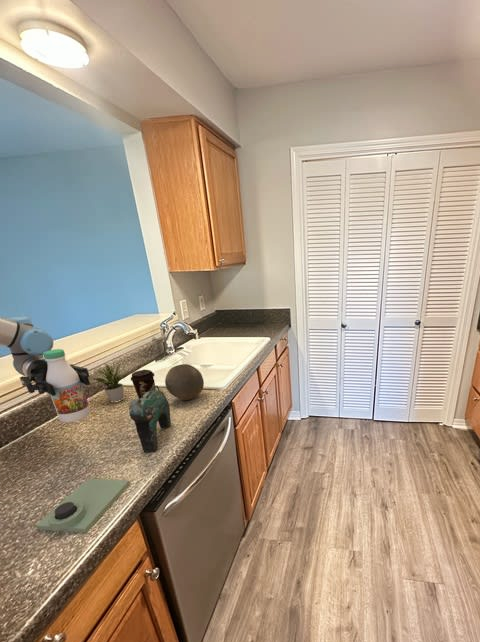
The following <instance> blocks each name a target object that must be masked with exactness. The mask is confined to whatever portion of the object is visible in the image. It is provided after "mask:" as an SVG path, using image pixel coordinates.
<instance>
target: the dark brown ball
mask: <svg viewBox="0 0 480 642" xmlns="http://www.w3.org/2000/svg"><path fill="white" fill-rule="evenodd" d="M166 373H167V374H166V375H165V380H164V382H165V383H164V384H165V388H166V389H167V391H168V393H169V394H170V395H171V396H173V397H174V398H176V399H178V400H181V401H190V400H193V399H196V398H197V397H199V395H200V394H202V392H203V390H204V386H205V385H204V384H205V382H204V378H203V374H202V373H201V372H200V371H199V370H198V369H197V367H196V366H193V365H192V364H188V363H182V364H177V365H175V366H173V367H171V368H170V369H169V370H168V372H166Z"/></svg>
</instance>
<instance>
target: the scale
mask: <svg viewBox="0 0 480 642" xmlns="http://www.w3.org/2000/svg"><path fill="white" fill-rule="evenodd" d="M130 485H131V481H130V480H129V479H109V478H86V479H85V480H84V481H83V482H82V483H81V484H79V485H78V486H77V487H76V488H75V489H74V490H73V491H72V492H71V493H69V494H68V495H67V497H65V498H64V499H63V500H62V501H61V502H60V503H59V504H57V506H55V507H54V508H53V509H52V510H51V511H50V512H49V513H48V514H47V515H46V516H44V518H42V519H41V520H40V521H39V522H37V524H35V527H36V529H37V530H38V531H51V532H52V531H54V532H67V533H68V532H69V533H83V534H84V533H85V534H87V533H88V532H89V530H90V529H92V528H93V526H94V525H95V524H96V523H97V522H98V521H99V520H100V518H101V517H102V516H104V514H105V513H106V512H107V511H108V509H109V508H110V507H111V506H112V505H113V504H114V503H115V502H116V500H117V499H118V498H119V497H121V495H122V494H123V493H124V491H125V490H126V489H127V488H128V487H129V486H130ZM67 502H72V503H74V506H75V508H76V512H75V513H74V514H73V515H71V516H70V517H68V518H65V519H62V520H59V519H57V517H56V514H55V509H56V508H57V507H58V506H60V505H61V504H63V503H67Z"/></svg>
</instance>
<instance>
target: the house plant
mask: <svg viewBox="0 0 480 642" xmlns="http://www.w3.org/2000/svg"><path fill="white" fill-rule="evenodd" d="M125 362H126V360H124V361H122V362H120V363H116V364H115V365H114V366H112V365H110V366H109V364H107V363H106V362H105V363H104V366H105V369H103V368H101V367H99V366H98V367H97V368H98V369H97V368H96V369H95V368H91V370H93V371H96V372H98V373H99V374H100V375H101V376H102V377H103V378H102V377H97V376H96V377H95V376H89V377H88V379H93V380H95V382H94V383H93V385H95V384H97V383H101V384H104V385H106V386H105V387H103V390H104V392H105V394H106V396H107V398H108V400H109V402H110V401H113V402H115V401H119V400H122V399H123V398H124V399H125V391H124V384H123V383H120V381H121V380H122V379H124V376H125V374H120V370H122V368H123V367H122V368H121V366H122V364H123V363H125ZM117 365H118V366H117ZM116 366H117V367H116ZM115 368H116V369H115ZM114 371H115V372H114ZM96 372H95V374H96V375H98V373H96Z"/></svg>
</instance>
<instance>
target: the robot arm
mask: <svg viewBox="0 0 480 642" xmlns="http://www.w3.org/2000/svg"><path fill="white" fill-rule="evenodd" d="M34 326H35V325H34V324H33V322H32V320H31V318H30V317H29V316H15V317H14V316H13V317H6V318H5V317H3V316H0V346H2V347H5V348H9V350H10V354H11V357H12V359H13V361H12V366H13V368H14V370H15V371H16V372H17V373H18V374H19V375H21V376H20V377H19V380H20V383H21V385H22V386H23V387H26V390H27V391H28V393H29V394H33V393H35V392H36V391H37V392H38V394H39V395H42V394H45V393H47V394H48V395H50V396H51V395H52V396H55V395H56V393H55V390H54V388H53V385H51V384H49V383H47V382H46V376H47V370H48V363H47V361H45V358H44V355H43V353H44V352H46V351H49V350H53V348H54V339H53V337H52V335H51V334H50V333H49V332H47V331H46V330H44V329H42V328H37V327H34ZM69 365H70V366H71V367H72V368H73V369H74V370H75V371H76V373H77V374H78V376H79V378H80V381H81V384H82V385H85V386H90V385H91V383H90V378H88V377H91V376H90V372H89V369H88V367H82V366H78V365H74V364H69ZM33 382H34V383H33Z"/></svg>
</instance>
